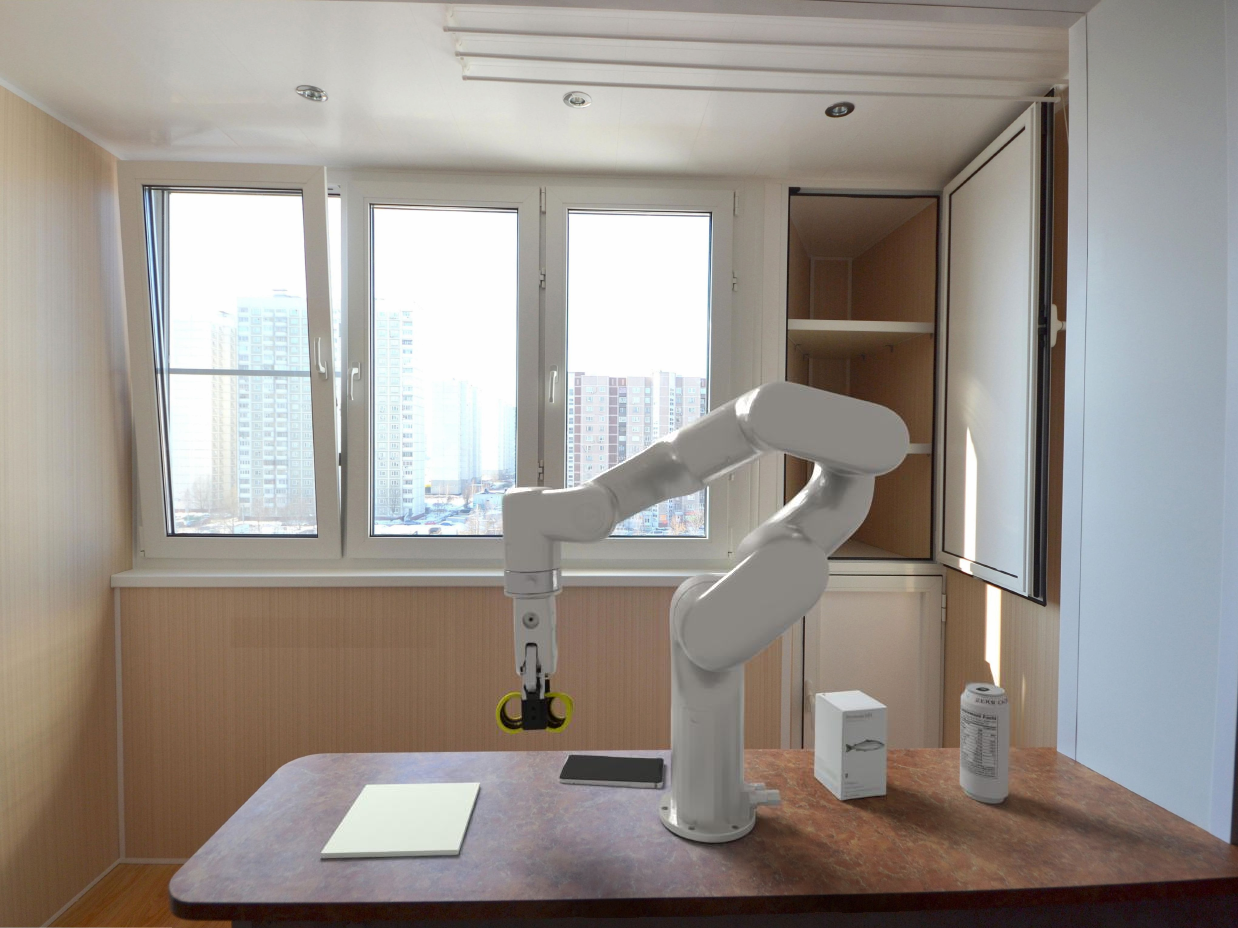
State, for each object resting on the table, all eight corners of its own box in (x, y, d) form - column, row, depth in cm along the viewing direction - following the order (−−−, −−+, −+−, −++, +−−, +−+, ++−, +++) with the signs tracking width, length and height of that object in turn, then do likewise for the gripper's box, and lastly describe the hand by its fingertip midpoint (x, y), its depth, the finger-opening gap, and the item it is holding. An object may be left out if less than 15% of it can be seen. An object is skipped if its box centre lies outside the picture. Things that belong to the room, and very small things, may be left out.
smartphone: (568, 753, 103) (663, 757, 102) (568, 761, 103) (663, 764, 102) (558, 779, 95) (662, 783, 94) (558, 787, 95) (662, 791, 94)
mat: (480, 786, 94) (480, 782, 94) (458, 854, 78) (458, 849, 78) (366, 788, 93) (366, 784, 93) (320, 858, 77) (320, 853, 77)
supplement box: (840, 802, 90) (841, 710, 90) (813, 776, 97) (813, 691, 97) (888, 796, 92) (889, 706, 92) (857, 771, 99) (858, 687, 99)
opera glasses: (575, 725, 88) (574, 686, 89) (571, 734, 83) (570, 692, 84) (503, 726, 88) (503, 687, 89) (494, 735, 83) (495, 694, 84)
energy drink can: (1018, 799, 91) (1019, 691, 91) (990, 809, 88) (991, 698, 88) (977, 780, 96) (979, 678, 96) (950, 789, 94) (951, 684, 94)
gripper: (559, 594, 78) (563, 746, 78) (564, 569, 95) (567, 693, 95) (495, 596, 77) (499, 749, 77) (511, 570, 94) (515, 696, 95)
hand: (536, 717), depth 86 cm, fingers closed on opera glasses, 5 cm apart
